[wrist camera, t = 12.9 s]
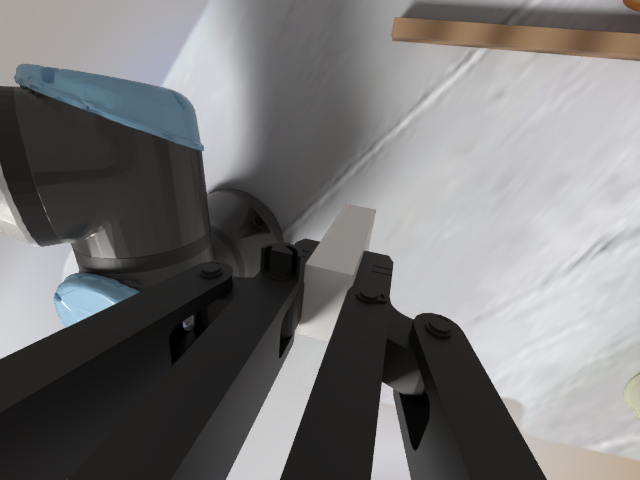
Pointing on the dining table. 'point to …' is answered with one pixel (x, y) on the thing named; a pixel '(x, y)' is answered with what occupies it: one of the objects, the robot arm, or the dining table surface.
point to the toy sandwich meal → (632, 4)
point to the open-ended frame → (519, 38)
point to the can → (633, 394)
